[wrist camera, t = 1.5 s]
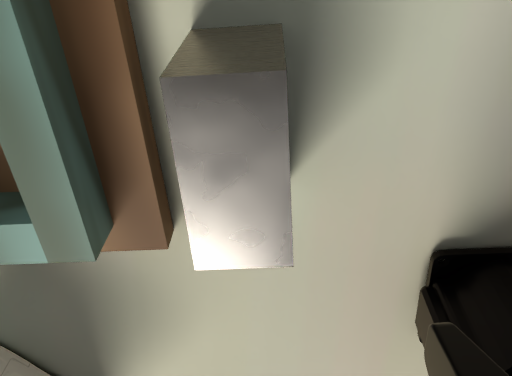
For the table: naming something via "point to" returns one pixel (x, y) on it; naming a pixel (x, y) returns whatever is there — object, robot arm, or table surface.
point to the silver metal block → (232, 145)
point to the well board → (115, 121)
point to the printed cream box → (17, 365)
